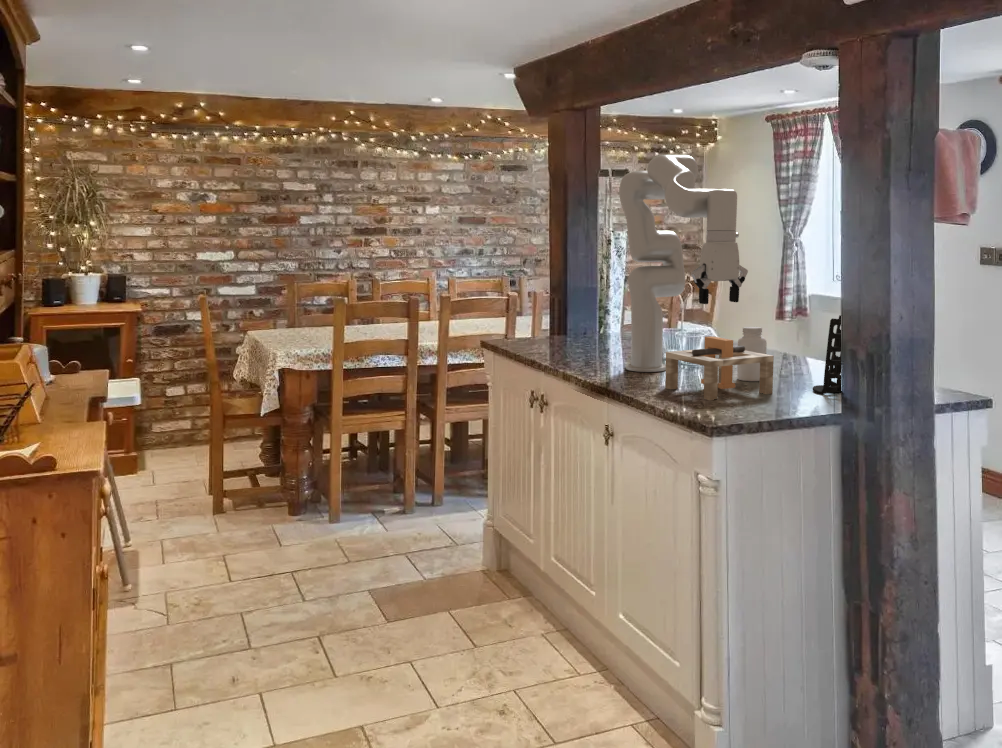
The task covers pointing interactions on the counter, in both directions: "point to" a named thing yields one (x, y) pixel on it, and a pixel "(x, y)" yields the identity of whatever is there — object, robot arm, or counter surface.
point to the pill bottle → (754, 344)
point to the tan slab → (726, 352)
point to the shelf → (712, 367)
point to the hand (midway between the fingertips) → (718, 302)
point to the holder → (832, 361)
